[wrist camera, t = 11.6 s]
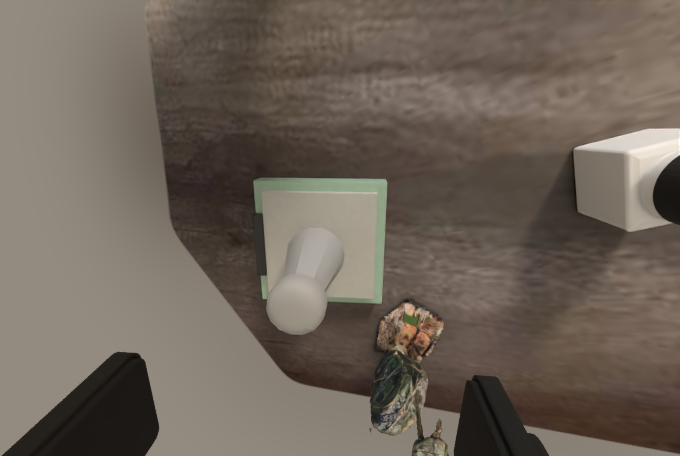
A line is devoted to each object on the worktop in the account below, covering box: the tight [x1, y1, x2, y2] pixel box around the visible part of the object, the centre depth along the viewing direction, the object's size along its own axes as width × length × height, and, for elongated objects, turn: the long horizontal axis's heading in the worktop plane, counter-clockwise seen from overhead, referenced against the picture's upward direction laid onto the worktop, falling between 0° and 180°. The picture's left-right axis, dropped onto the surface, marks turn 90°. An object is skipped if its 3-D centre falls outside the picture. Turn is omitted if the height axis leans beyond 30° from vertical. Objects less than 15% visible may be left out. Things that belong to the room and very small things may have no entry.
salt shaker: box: [266, 228, 345, 335], centre depth 28 cm, size 6×6×13 cm
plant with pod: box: [369, 299, 449, 456], centre depth 31 cm, size 8×11×20 cm
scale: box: [253, 178, 387, 304], centre depth 35 cm, size 14×14×3 cm
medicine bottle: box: [573, 129, 680, 232], centre depth 27 cm, size 7×7×12 cm
